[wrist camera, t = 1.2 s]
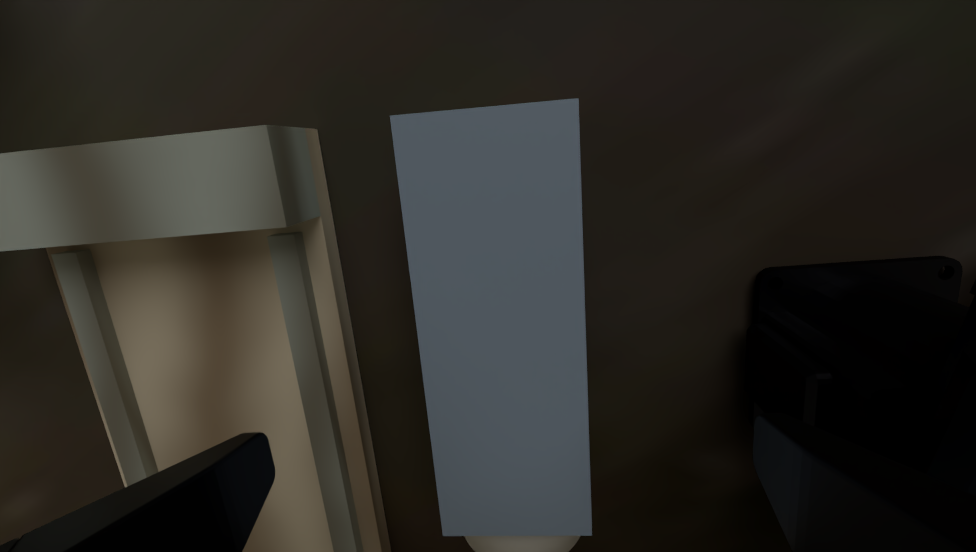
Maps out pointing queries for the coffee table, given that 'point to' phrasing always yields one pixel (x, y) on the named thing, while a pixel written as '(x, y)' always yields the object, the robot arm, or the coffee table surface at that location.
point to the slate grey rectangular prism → (501, 318)
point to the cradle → (211, 313)
